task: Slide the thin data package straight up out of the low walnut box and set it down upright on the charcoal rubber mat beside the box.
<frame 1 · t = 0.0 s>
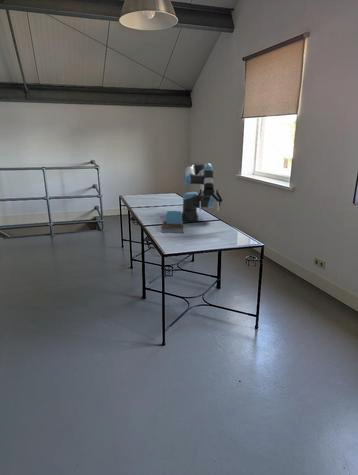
hand: (209, 210, 249), 15 cm above the table, tool tilted 35°, fingers open, 13 cm apart
charcoal mat: (172, 230, 249), on the table
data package: (174, 226, 260), resting in walnut box
walnut box: (172, 226, 260), on the table
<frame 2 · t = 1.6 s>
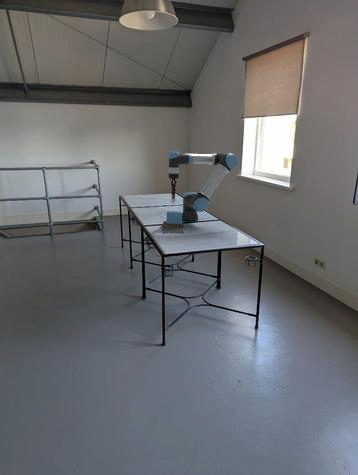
hand: (173, 201, 254), 20 cm above the table, tool pointing down, fingers open, 13 cm apart
nothing on the table moved.
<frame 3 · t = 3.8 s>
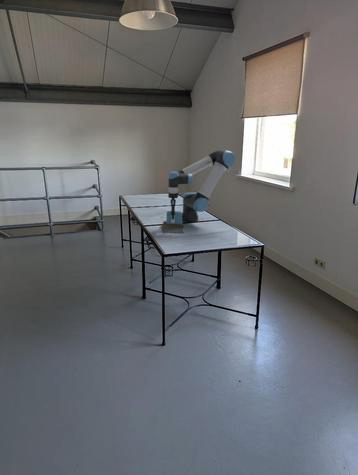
hand: (172, 221, 259), 4 cm above the table, tool pointing down, fingers open, 5 cm apart
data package: (174, 227, 260), resting in walnut box, touching gripper
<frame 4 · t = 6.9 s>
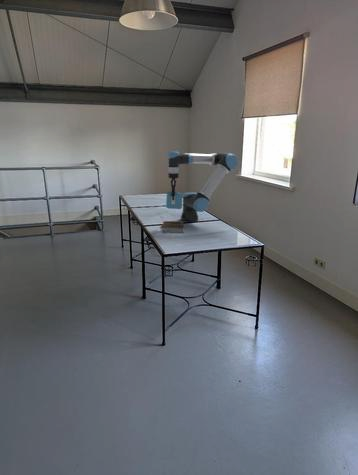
hand: (173, 203, 254), 19 cm above the table, tool pointing down, fingers closed on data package, 4 cm apart
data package: (173, 208, 256), point 15 cm above the table, touching gripper
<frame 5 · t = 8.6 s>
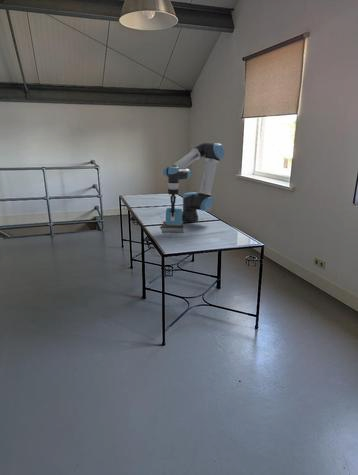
hand: (172, 219, 246), 9 cm above the table, tool pointing down, fingers closed on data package, 4 cm apart
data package: (173, 224, 247), point 5 cm above the table, touching gripper
when the fingers open (5 cm above the table, at t = 9.8 s): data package drops 1 cm, resting on charcoal mat.
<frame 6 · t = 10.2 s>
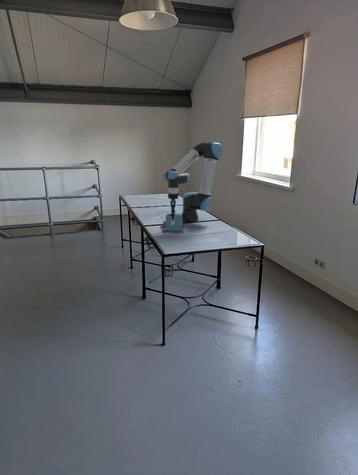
hand: (172, 222, 247), 6 cm above the table, tool pointing down, fingers open, 9 cm apart
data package: (173, 230, 248), resting on charcoal mat
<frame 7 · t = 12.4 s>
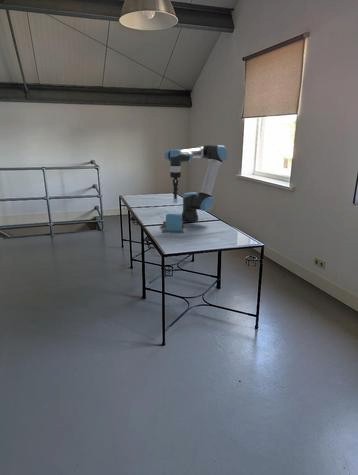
hand: (175, 200, 243), 23 cm above the table, tool pointing down, fingers open, 13 cm apart
nothing on the table moved.
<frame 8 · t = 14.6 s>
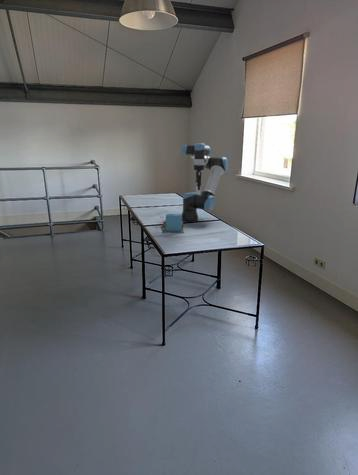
hand: (197, 192, 254), 27 cm above the table, tool pointing down, fingers open, 13 cm apart
nothing on the table moved.
at the end: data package inside the target area on the charcoal mat (0.7 cm from its centre), point 0.4 cm above the charcoal mat's base; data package tilted 0°; the gripper is holding nothing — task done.
